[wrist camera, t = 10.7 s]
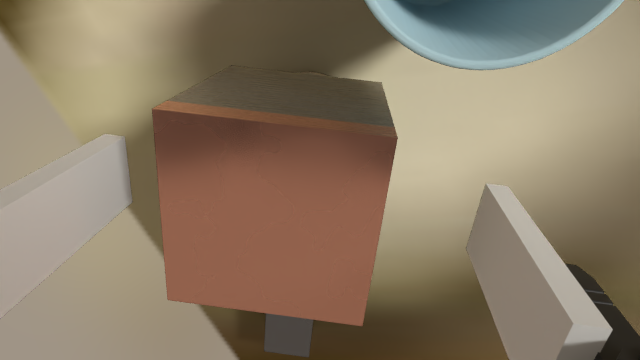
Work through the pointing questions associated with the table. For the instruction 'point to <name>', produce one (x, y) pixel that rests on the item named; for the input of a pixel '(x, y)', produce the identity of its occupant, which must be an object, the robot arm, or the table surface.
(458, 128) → the table surface
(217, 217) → the red-topped grey block
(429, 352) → the table surface
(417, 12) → the cup
